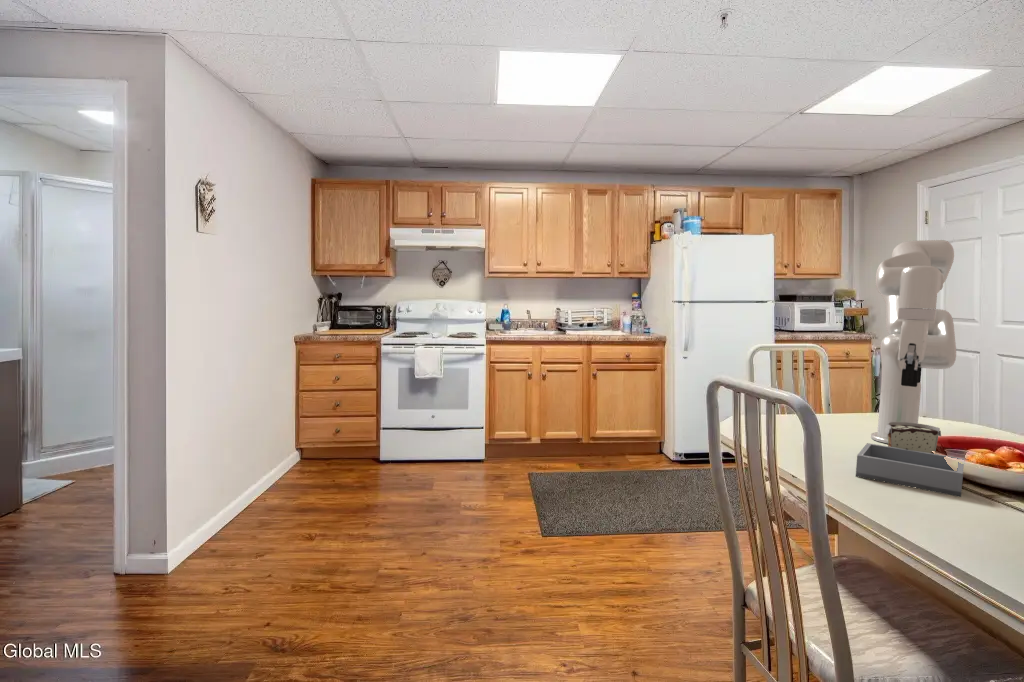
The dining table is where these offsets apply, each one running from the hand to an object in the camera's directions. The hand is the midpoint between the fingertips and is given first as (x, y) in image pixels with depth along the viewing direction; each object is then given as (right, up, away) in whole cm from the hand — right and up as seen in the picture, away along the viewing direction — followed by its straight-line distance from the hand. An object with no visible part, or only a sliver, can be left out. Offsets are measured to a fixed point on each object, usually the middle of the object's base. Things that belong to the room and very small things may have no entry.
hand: (910, 384), depth 138 cm
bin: (-8, -21, -11) cm, 25 cm away
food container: (0, -20, +2) cm, 21 cm away
